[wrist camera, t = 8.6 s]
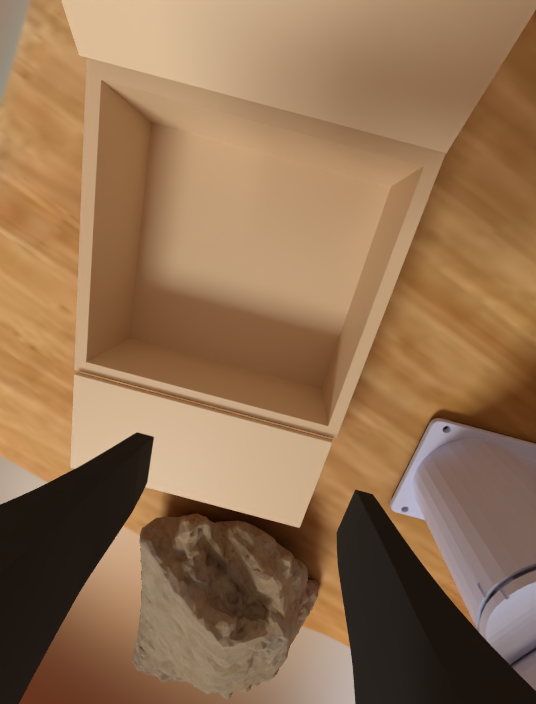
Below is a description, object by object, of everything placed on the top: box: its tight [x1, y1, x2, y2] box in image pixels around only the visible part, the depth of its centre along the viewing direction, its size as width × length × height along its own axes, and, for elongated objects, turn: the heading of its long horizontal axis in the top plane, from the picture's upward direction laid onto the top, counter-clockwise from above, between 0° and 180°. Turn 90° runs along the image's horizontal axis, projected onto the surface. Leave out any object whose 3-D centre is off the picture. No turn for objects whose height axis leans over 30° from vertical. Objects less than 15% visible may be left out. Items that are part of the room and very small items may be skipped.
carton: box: [71, 58, 446, 528], centre depth 17 cm, size 14×19×5 cm
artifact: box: [132, 513, 319, 700], centre depth 24 cm, size 18×7×15 cm
